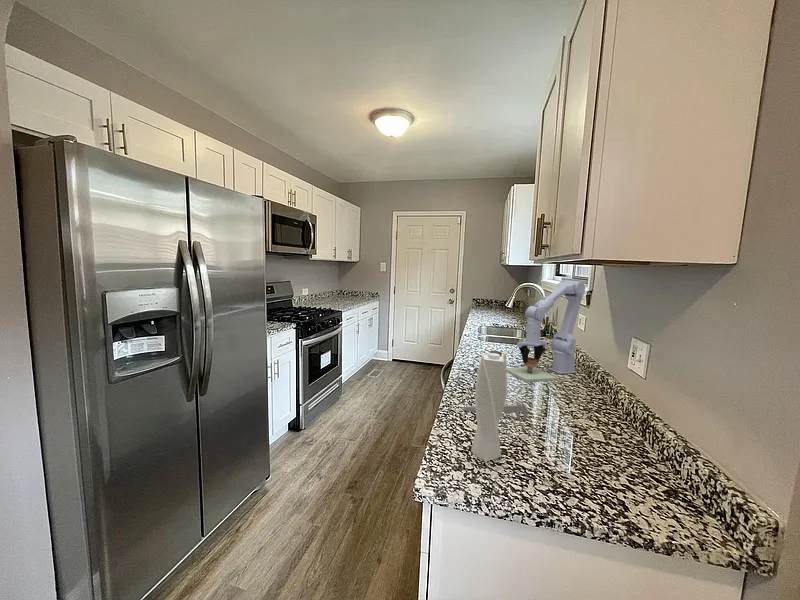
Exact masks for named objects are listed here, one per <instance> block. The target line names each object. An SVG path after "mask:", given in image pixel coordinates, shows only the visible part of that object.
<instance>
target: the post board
mask: <svg viewBox="0 0 800 600" xmlns="http://www.w3.org/2000/svg"><path fill="white" fill-rule="evenodd" d="M506 370H507V374H510V375H511V374H512V375H511V376H513V377H515V378H517V379H519V380H521V382H525V383H535V382H550V381H554V382H555V381H557V379H558V377H556V376H554V375H552V374H550V373H547V372H545V371H543V370H541V369H538V367H534V368H532V367H527V366H522V367H521V366H519V367H506Z"/></svg>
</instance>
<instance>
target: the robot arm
mask: <svg viewBox="0 0 800 600" xmlns="http://www.w3.org/2000/svg"><path fill="white" fill-rule="evenodd" d="M585 291H586V286H585V283H584V282H583V281H582V280H568V279H561V281H560V282H558V283H557V287H556V288H555V289H554V290H552V292H551V293H550V294H549V295H548V296H541V299H539V300H538V301H537V302H536V303H534V304H533V305H530V306H529V307H527V308H526V309H525V312H524V315H525V317H526V322H527V323H526V324H527V325H526V334H525V335H526V336H525V341H517V344H516V345H517V346H516V347H517V348H518V349H519V351H520V353H521V359H522V363H524V362H525V363H527V361H528V357H529V354H530V352H531V348H530V347H532V348H533V354H534V355H533V356H534V357H533V358H535V359H537V360H538V363H539V361H540V358H541V356H542V355H543V353H544V352H545V351H546V347H547V346H548V342H547V341H540V337H541V327H542V326H541V325H542V321H543V319H545V316H546V314H547V312H548V311H549V310H551V309H552V308H553V307H554V305H555V302H557V300H559V299H560V298H561V297H565V298H566V299H567V301H568V302H567V304H566V309H565V312H564V316H563V319H562V323H561V326H560V330H559V331H558V332H557V333H555V334H554V335H553V338H552V339H551V341H550V349H551V350H552V352H553V357H552V367H548V368H547V369H548V370H550V371H552V372H555V373H557V374H560V375H562V374H563V375H565V374H575V373H576V371H575V366H576V365H575V364H576V357H575V355H574V353H575V351H576V342H577V340H576V338H575V337H574V336H573V332H574V328H575V325H576V322H577V318H578V314H579V311H580V307H581V304H582V300H583V299H584V296H585V295H584V294H585Z"/></svg>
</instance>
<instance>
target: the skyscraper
mask: <svg viewBox="0 0 800 600" xmlns="http://www.w3.org/2000/svg"><path fill="white" fill-rule="evenodd" d="M507 354H508V353H507V350H504V351H503V354H502V355H501V356H500V355H499V354H496V353H490V352H489V353H487V354H485V353H484V352H482V354H481V357H480V363H479V366H478V369H477V371H478V372H477V376H476V383H475V392H474V403H475V404H474V406H475V408H476V411H475V418H476V424H477V425H476V429H475V433H474V437H473V438H474V439H473V441H472V445H471V450H470V452H471V453H473V455H475V454H476V455H475V456H477V457H478V458H479V457H480V458H479V459H481V460H482V459H483V460H484V463H485V462H486V463H488V462H487V461H489V462H491V461H490V460H492V461H494V460H493V459H495V460H497V459H502V454H501V443H500V442H501V441H500V434H499V426H498V425H499V423H500V421H501V418H502V414H503V413H504V412H503V409H504V405H506V401H507V396H508V395H507V394H508V392H507V391H508V372H507V370H506V368H507V356H508V355H507ZM499 457H500V458H499ZM496 458H497V459H496ZM483 460H482V461H483Z"/></svg>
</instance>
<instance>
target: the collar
mask: <svg viewBox="0 0 800 600" xmlns="http://www.w3.org/2000/svg"><path fill="white" fill-rule="evenodd" d="M538 363H539V362H538V360H537V359H535V358H534V357H529V356H528V361H527V363H525V362H523V367H532V368H538Z"/></svg>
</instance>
